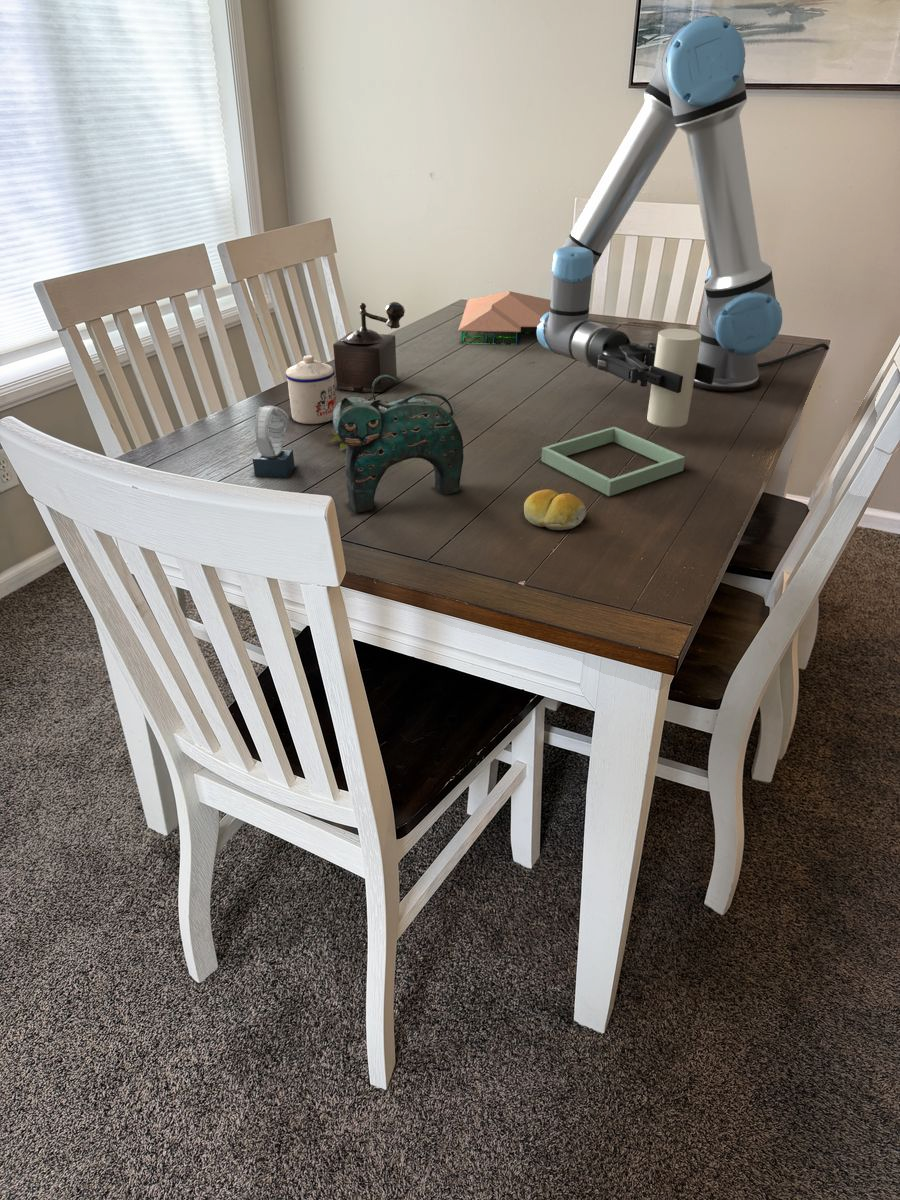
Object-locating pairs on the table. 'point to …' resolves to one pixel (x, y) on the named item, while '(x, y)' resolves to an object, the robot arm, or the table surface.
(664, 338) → the pillar candle
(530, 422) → the table surface
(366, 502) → the ceramic cat
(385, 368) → the manual coffee grinder
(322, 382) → the teacup with lid
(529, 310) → the house
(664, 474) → the green square frame
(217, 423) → the table surface
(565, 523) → the bread roll
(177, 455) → the table surface
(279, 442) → the watch
